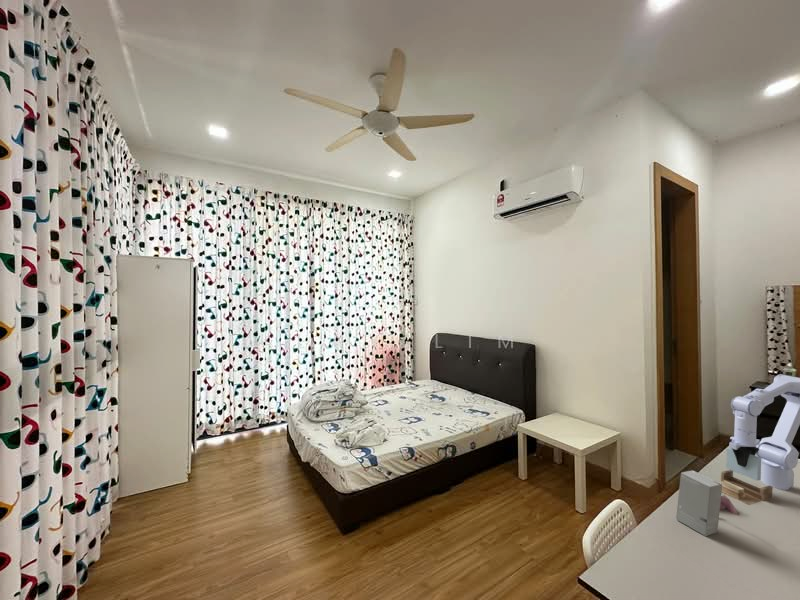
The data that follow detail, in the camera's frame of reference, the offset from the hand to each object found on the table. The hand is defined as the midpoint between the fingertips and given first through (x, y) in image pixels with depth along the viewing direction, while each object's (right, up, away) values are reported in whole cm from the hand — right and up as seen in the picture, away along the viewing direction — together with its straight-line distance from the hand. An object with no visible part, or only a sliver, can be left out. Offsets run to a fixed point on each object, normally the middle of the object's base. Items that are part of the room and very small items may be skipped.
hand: (743, 465), depth 125 cm
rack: (-4, -10, -2) cm, 11 cm away
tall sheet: (0, -3, 0) cm, 3 cm away
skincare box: (-35, -10, -20) cm, 42 cm away
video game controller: (-22, -10, -12) cm, 27 cm away
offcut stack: (-8, -9, -4) cm, 13 cm away
